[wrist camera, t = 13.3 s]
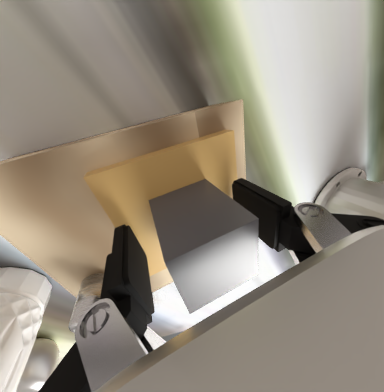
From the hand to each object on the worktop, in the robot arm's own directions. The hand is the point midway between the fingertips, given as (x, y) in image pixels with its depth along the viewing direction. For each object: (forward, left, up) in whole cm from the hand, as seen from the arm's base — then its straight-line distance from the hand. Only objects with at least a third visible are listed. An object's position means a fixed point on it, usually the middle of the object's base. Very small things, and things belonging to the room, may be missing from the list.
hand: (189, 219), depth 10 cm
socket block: (+2, +1, -7) cm, 7 cm away
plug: (0, 0, -5) cm, 5 cm away
